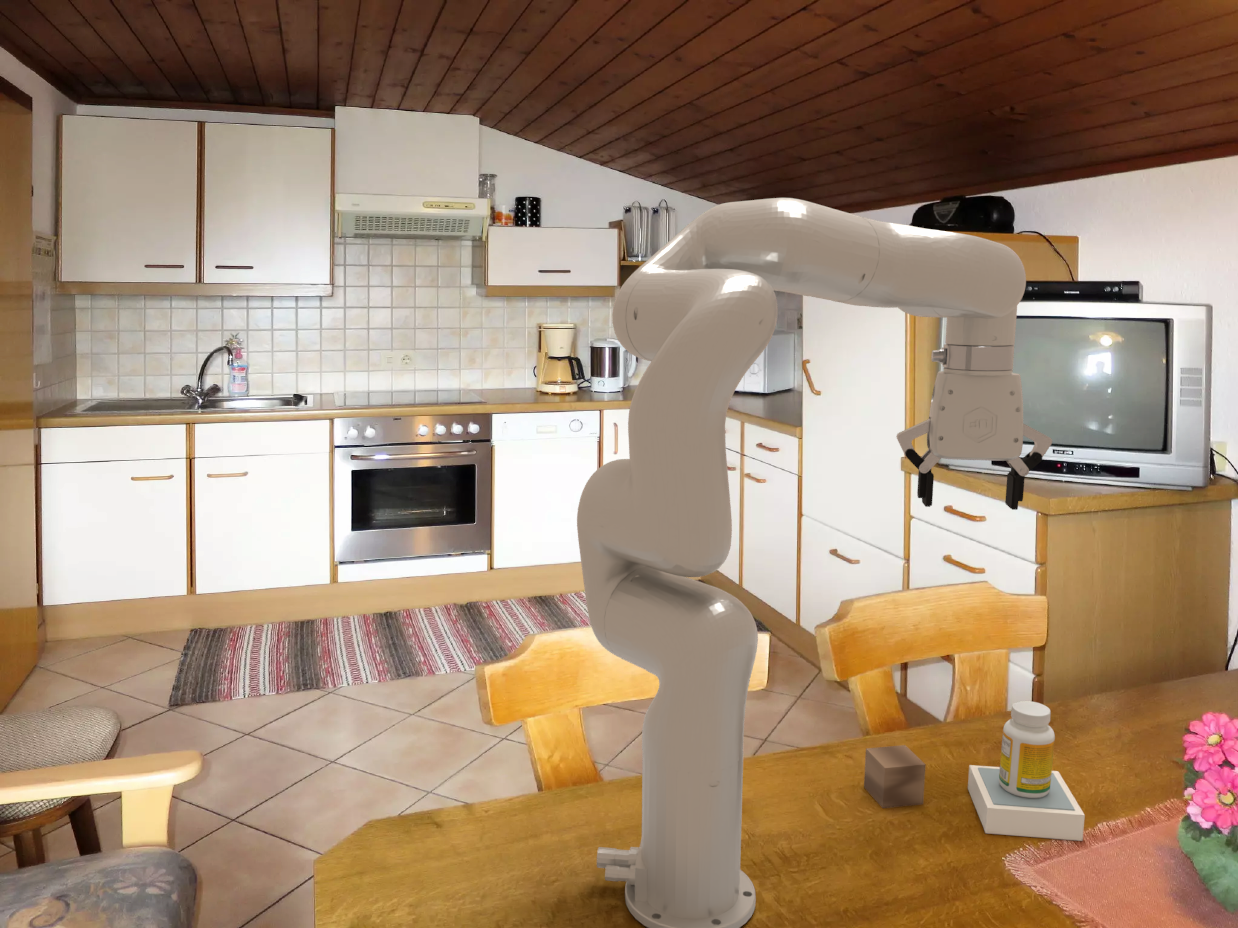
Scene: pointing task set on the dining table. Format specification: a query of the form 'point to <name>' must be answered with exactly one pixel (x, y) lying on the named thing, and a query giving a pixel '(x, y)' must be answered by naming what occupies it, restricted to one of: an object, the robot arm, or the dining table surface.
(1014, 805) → the base
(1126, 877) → the dining table surface
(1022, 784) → the supplement bottle
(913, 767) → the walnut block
